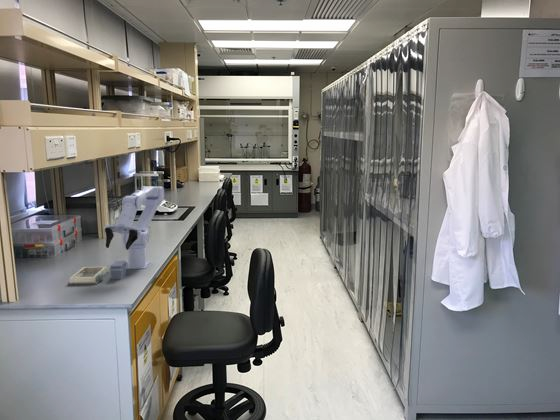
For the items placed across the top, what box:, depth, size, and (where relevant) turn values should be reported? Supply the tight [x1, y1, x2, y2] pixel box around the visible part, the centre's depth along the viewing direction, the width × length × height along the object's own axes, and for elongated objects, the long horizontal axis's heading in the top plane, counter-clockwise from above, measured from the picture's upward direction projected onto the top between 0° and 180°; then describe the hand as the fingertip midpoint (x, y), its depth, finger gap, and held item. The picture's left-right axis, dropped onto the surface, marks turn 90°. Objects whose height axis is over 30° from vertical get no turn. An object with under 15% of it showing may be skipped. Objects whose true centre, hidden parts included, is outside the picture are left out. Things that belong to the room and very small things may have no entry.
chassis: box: [67, 266, 110, 286], centre depth 176 cm, size 15×12×3 cm
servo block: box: [109, 260, 128, 280], centre depth 179 cm, size 10×4×6 cm, turn 4°
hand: (116, 247), depth 172 cm, fingers open, 7 cm apart
